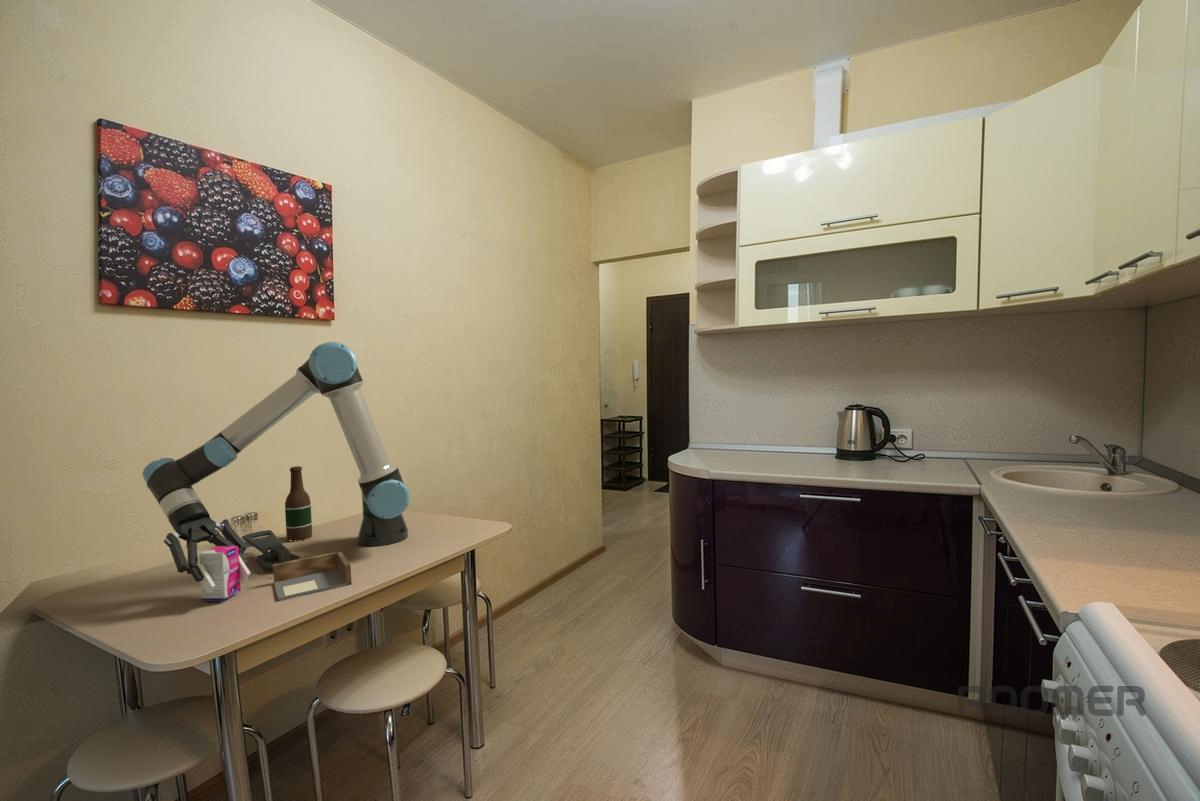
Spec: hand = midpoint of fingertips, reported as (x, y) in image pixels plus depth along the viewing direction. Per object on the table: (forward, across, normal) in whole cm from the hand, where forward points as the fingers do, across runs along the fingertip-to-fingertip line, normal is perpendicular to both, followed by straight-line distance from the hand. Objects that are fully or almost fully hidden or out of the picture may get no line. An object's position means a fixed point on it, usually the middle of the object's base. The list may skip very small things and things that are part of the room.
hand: (229, 583), depth 127 cm
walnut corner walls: (+10, -14, +4) cm, 18 cm away
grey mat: (+10, -14, +4) cm, 18 cm away
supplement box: (0, 0, -5) cm, 5 cm away
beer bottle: (-19, -41, -26) cm, 52 cm away
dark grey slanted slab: (-10, -22, -16) cm, 29 cm away
